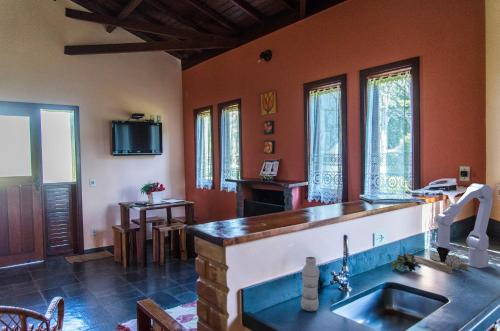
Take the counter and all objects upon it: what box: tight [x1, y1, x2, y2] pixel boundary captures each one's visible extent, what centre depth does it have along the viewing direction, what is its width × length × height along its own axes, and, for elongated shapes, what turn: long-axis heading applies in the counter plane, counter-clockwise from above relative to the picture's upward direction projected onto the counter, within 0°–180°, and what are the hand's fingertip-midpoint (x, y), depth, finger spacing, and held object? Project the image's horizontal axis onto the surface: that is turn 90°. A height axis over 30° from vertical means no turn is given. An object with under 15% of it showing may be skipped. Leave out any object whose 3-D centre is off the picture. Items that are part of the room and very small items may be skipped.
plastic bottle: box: [300, 256, 320, 312], centre depth 139 cm, size 6×7×20 cm
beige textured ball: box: [443, 253, 464, 271], centre depth 189 cm, size 9×8×10 cm
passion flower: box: [390, 252, 422, 274], centre depth 186 cm, size 11×11×12 cm
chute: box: [413, 252, 469, 274], centre depth 197 cm, size 14×22×3 cm, turn 25°
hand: (442, 261), depth 195 cm, fingers closed
